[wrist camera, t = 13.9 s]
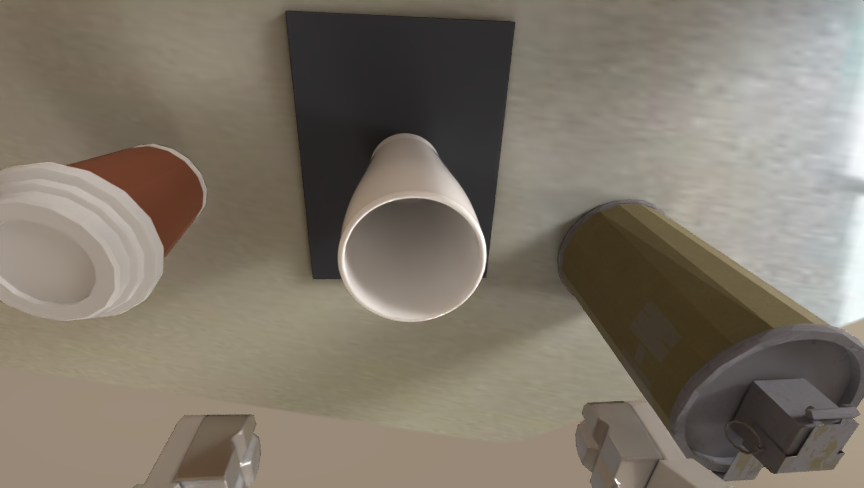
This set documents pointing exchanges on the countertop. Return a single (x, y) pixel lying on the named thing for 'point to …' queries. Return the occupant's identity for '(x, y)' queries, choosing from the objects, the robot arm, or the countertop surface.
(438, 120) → the place mat
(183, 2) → the countertop surface
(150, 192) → the coffee cup
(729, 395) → the canister
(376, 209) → the white tapered cylinder
